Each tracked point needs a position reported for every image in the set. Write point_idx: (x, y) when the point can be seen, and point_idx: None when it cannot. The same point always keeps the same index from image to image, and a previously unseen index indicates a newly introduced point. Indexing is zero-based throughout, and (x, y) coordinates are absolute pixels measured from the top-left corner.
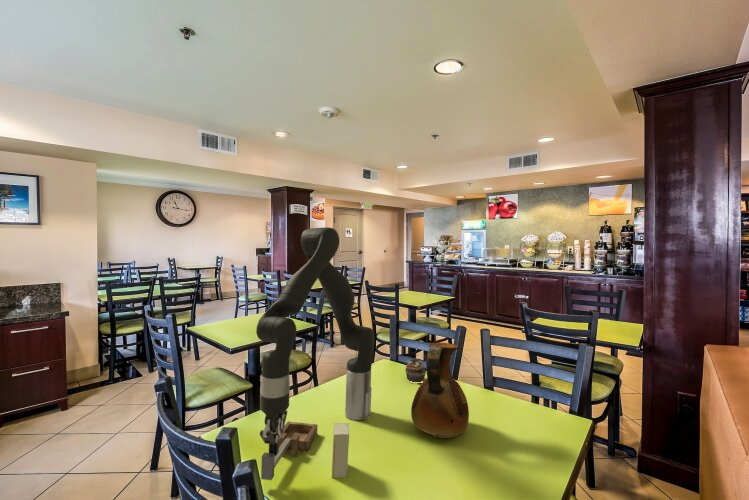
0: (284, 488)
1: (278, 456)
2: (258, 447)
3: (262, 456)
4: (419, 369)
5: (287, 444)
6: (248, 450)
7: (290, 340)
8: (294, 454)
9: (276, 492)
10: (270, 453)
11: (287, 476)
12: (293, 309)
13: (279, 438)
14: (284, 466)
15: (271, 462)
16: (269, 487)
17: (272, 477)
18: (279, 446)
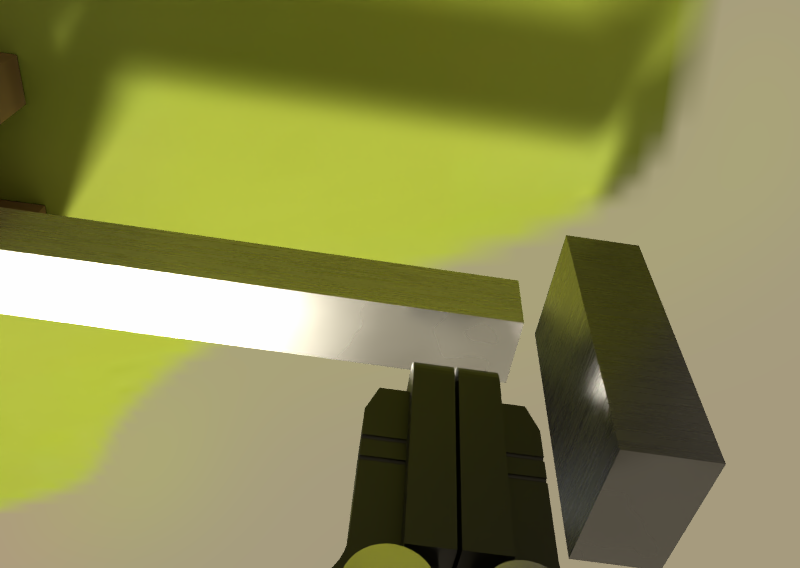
0: (607, 57)
1: (348, 303)
2: (10, 424)
3: (660, 558)
4: None
5: (23, 246)
6: (80, 475)
7: None
8: (4, 80)
9: (663, 129)
10: (607, 497)
11: (395, 71)
12: None
13: (399, 562)
14: (224, 144)
15: (693, 402)
16: (573, 214)
17: (615, 250)
18: None
